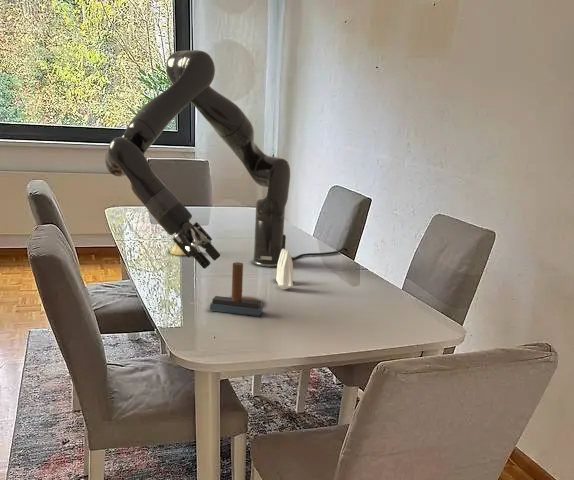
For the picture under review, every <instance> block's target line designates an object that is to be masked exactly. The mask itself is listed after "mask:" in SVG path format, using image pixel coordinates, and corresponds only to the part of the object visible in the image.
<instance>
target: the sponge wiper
mask: <svg viewBox="0 0 574 480" xmlns="http://www.w3.org/2000/svg"><path fill="white" fill-rule="evenodd" d="M243 276H244V263H243V262H238V261H235V262H233V263H232V274H231V297H229V296H221V295H220V296H219V295H215V296H214V297H213V298H212V299H211V300H212V301H211V303H210V304H209V310H210V311H212V312H216V313H217V312H218V313H225V314H226V313H228V314H233V315H234V314H235V315H241V316H243V315H245V316H252V317H260V316H261V315H262V313H263V308H264V305H261V302H262V300H259V301H256V300H247V299H242V297H243V283H244V282H243V280H244V278H243Z"/></svg>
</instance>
